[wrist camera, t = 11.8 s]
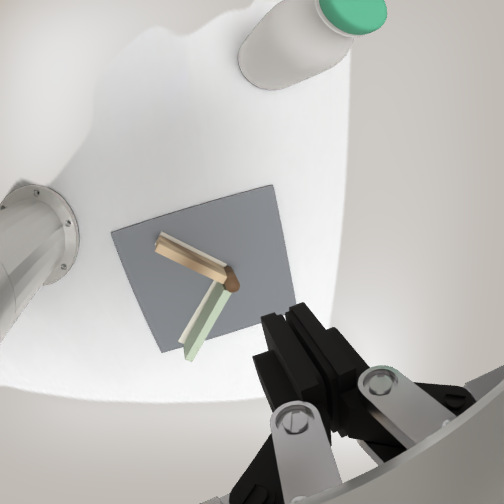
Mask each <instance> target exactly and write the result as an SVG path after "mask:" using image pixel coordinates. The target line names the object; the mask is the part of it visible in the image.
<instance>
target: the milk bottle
mask: <svg viewBox="0 0 504 504" xmlns="http://www.w3.org/2000/svg"><path fill="white" fill-rule="evenodd" d="M386 18H387V8H386V4H385V1H384V0H283V1H281V2H280V3H278V4H277V5H276V6H274V7H273V8H272V9H271V10H270V11H269V12H268V13H267V14H266V15H265V17H264V18H263V19H262V20H261V21H260V22H259V23H258V25H257V26H256V27H255V28H254V30H253V31H252V32H251V33H250V35H249V36H248V37H247V38H246V40H245V41H244V43H243V44H242V46H241V48H240V50H239V54H238V62H239V66H240V69H241V71H242V73H243V75H244V76H245V77H246V78H247V79H248V80H249V81H250V82H251V83H252V84H254V85H256V86H257V87H260V88H263V89H267V90H279V89H283V88H286V87H288V86H291V85H293V84H296V83H298V82H300V81H303V80H305V79H308V78H310V77H312V76H315V75H317V74H319V73H322V72H324V71H326V70H328V69H330V68H332V67H333V66H335V65H336V64H338V63H339V62H340V61H341V60H342V59H343V58H344V57H345V56H346V55H347V53H348V52H349V50H350V48H351V46H352V43H353V40H354V38H356V37H361V36H363V35H365V34H368V33H371V32H373V31H375V30H377V29H379V28H380V27H381V26H382V25H383V24H384V22H385V20H386Z"/></svg>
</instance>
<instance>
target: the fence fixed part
mask: <svg viewBox="0 0 504 504" xmlns="http://www.w3.org/2000/svg"><path fill="white" fill-rule="evenodd" d="M155 252H157V253H159V254H161V255H163V256H165V257H167V258H169V259H171V260H173V261H175V262H177V263H179V264H181V265H183V266H186V267H188V268H190V269H192V270H194V271H196V272H198V273H200V274H202V275H205V276H207V277H209V278H211V279H213V280H215V281H217V282H220V283H222V284H225V286H226V289H227V291H229V292H231V293H234V292H237V291H238V290H239V288H240V283H239V281H238V279H237V277H236V275H235V273H234V271H233V269H232V267H230V266H225V267H223V266H221V265H219V264H217V263H215V262H213V261H211V260H209V259H207V258H205V257H203V256H201V255H199V254H197V253H195V252H193V251H191V250H189V249H187V248H185V247H183V246H181V245H179V244H177V243H175V242H173V241H171V240H169V239H167V238H165V237H163V236H161V235H160V236H159V238H158V240H157V242H156V247H155Z"/></svg>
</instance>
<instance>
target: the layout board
mask: <svg viewBox="0 0 504 504" xmlns="http://www.w3.org/2000/svg"><path fill="white" fill-rule="evenodd" d="M111 235H112V238H113V241H114V244H115V246H116V249H117V252H118V254H119V257H120V260H121V262H122V265H123V267H124V270H125V272H126V275H127V277H128V280H129V282H130V284H131V287H132V289H133V292H134V294H135V296H136V299H137V301H138V303H139V306H140V308H141V310H142V312H143V315H144V317H145V319H146V321H147V323H148V325H149V328H150V330H151V332H152V334H153V336H154V338H155V340H156V342H157V344H158V346H159V349H160V351H161V353H163V352H167V351H170V350H174V349H177V348H181V347H184V343H185V341H186V340H187V338H188V336H189V334H190V332H191V330H192V329H193V327H194V325H195V323H196V321H197V319H198V318H199V316H200V314H201V312H202V310H203V308H204V307H205V305H206V303H207V301H208V299H209V298H210V296H211V294H212V292H213V290H214V288H215V287H216V285H217V283H218V282H217V281H215V280H213V279H211V278H209V277H207V276H205V275H202V274H200V273H198V272H196V271H194V270H192V269H190V268H188V267H186V266H183V265H181V264H179V263H177V262H175V261H173V260H171V259H169V258H167V257H165V256H163V255H161V254H159V253H157V252H155V247H156V242H157V240H158V238H159V236H160V235H161V236H163V237H165V238H167V239H169V240H171V241H173V242H175V243H177V244H179V245H181V246H183V247H185V248H187V249H189V250H191V251H193V252H195V253H197V254H199V255H201V256H203V257H205V258H207V259H209V260H211V261H213V262H215V263H217V264H219V265H221V266H223V267H225V266H230V267H232V269H233V271H234V273H235V275H236V277H237V279H238V281H239V283H240V288H239V290H238V291H237V292H234V293H231V295H230V297H229V299H228V300H227V302H226V304H225V306H224V307H223V309H222V311H221V313H220V314H219V316H218V318H217V319H216V321H215V323H214V325H213V326H212V328H211V330H210V332H209V333H208V335H207V337H206V339H205V340H208V339H212V338H215V337H218V336H221V335H225V334H228V333H231V332H234V331H237V330H240V329H244V328H247V327H250V326H253V325H256V324H259V323H261V318H260V317H261V316H264V315H267V314H270V313H273V312H275V313H276V315H279V314H282V315H285V312H288V311H289V307H291V306H294V305H296V300H295V295H294V289H293V284H292V278H291V273H290V267H289V262H288V257H287V252H286V246H285V241H284V236H283V231H282V226H281V221H280V216H279V211H278V206H277V201H276V196H275V192H274V187H273V185H269V186H265V187H261V188H257V189H254V190H250V191H246V192H242V193H239V194H235V195H232V196H228V197H224V198H221V199H217V200H214V201H210V202H207V203H203V204H200V205H197V206H193V207H190V208H187V209H183V210H180V211H177V212H173V213H170V214H167V215H164V216H160V217H157V218H154V219H151V220H148V221H145V222H142V223H139V224H135V225H132V226H129V227H126V228H123V229H120V230H117V231H114V232H112V233H111ZM205 340H204V341H205Z"/></svg>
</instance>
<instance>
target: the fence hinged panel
mask: <svg viewBox="0 0 504 504" xmlns="http://www.w3.org/2000/svg"><path fill="white" fill-rule="evenodd" d="M230 295H231V292H229V291H227V289H226V286H225V284H222V283H220V282H218V283H217V285H216V287H215V288H214V290H213V292H212V294H211V296H210V298H209V299H208V301H207V303H206V305H205V307H204V308H203V310H202V312H201V314H200V316H199V318H198V319H197V321H196V323H195V325H194V327H193V329H192V330H191V332H190V334H189V336H188V338H187V340H186V341H185V343H184V354H185V360H188V361H191V362H192V361H193V359H194V358H195V356H196V354H197V353H198V351H199V349H200V347H201V346H202V344H203V342H204V340H205V339H206V337H207V335H208V333H209V332H210V330H211V328H212V326H213V325H214V323H215V321H216V319H217V318H218V316H219V314H220V313H221V311H222V309H223V307H224V306H225V304H226V302H227V300H228V299H229V297H230Z"/></svg>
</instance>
